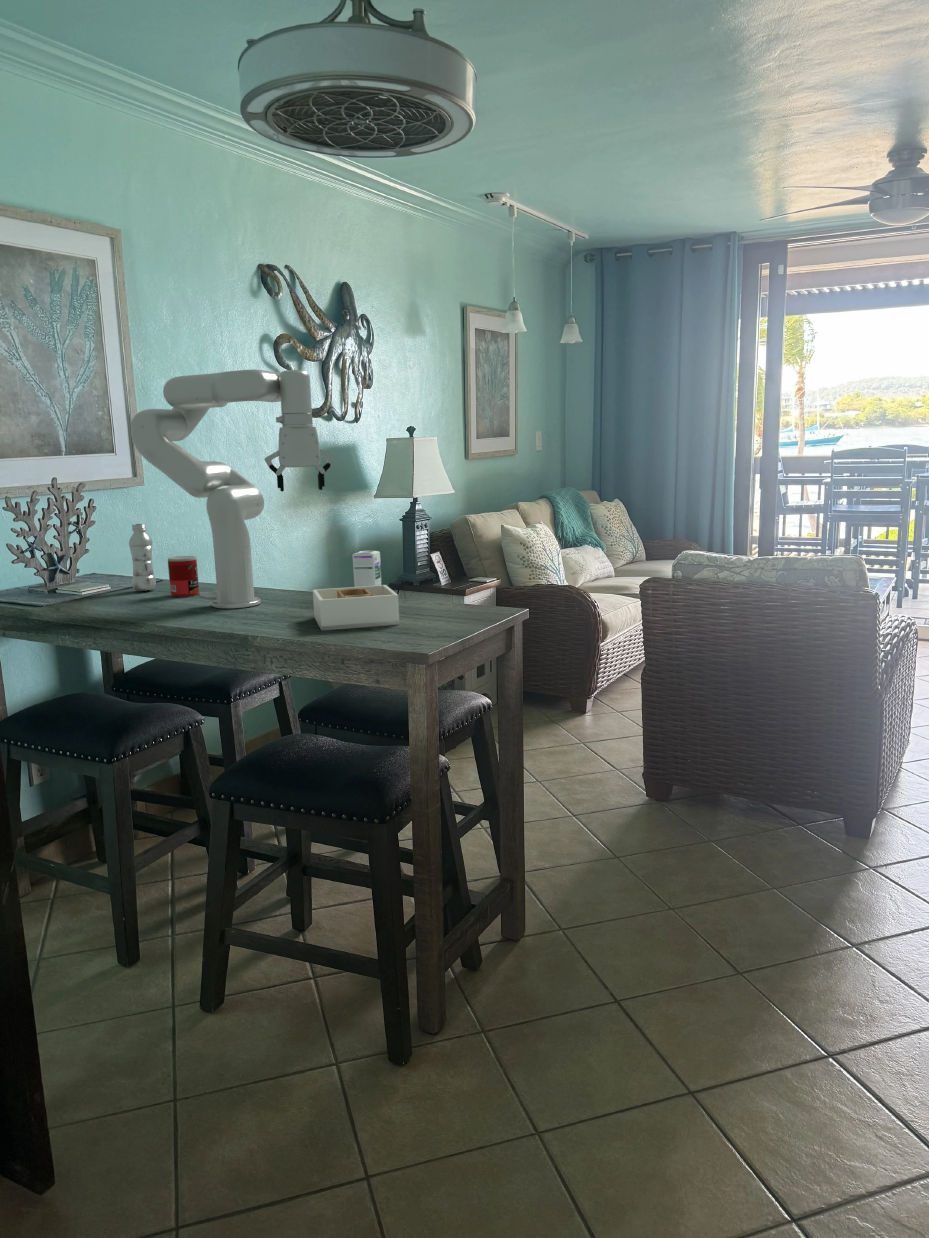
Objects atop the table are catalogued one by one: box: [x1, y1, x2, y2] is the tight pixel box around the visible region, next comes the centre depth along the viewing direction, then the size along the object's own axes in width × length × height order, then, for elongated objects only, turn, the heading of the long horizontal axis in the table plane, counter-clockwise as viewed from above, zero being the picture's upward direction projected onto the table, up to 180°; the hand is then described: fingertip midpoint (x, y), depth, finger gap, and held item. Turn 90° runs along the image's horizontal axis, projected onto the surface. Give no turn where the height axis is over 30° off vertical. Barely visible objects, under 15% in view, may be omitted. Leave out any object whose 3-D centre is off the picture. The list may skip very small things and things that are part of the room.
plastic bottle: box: [128, 523, 157, 592], centre depth 263 cm, size 6×7×20 cm
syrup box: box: [351, 550, 383, 587], centre depth 227 cm, size 6×6×14 cm
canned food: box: [167, 555, 200, 597], centre depth 255 cm, size 8×8×11 cm
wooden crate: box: [337, 588, 372, 598], centre depth 210 cm, size 7×10×6 cm
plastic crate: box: [312, 584, 400, 631], centre depth 210 cm, size 18×16×7 cm
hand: (301, 490), depth 225 cm, fingers open, 9 cm apart
